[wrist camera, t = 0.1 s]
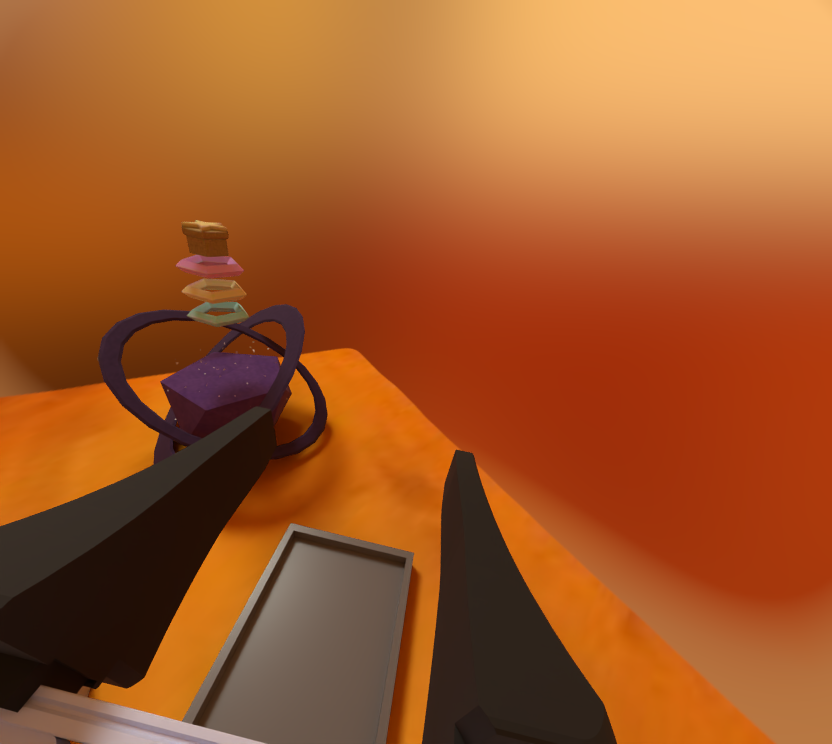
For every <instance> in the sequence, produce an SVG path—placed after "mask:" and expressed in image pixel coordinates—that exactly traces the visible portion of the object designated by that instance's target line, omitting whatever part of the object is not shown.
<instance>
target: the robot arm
mask: <svg viewBox="0 0 832 744" xmlns="http://www.w3.org/2000/svg"><path fill="white" fill-rule="evenodd" d="M276 447H277V443H276V437H275V430H274V424H273V418H272V412H271V409H267V408H262V407H257V406H255V407H254V408H252V409H250V410H249V411H247V412H245V413H244V414H242V415H240V416H239V417H237V418H235V419H234V420H232V421H231V422H229V423H227V424H226V425H224V426H222V427H221V428H219V429H217V430H216V431H214V432H212V433H211V434H209V435H207V436H206V437H204V438H202V439H201V440H199V441H197V442H195V443H194V444H192V445H190V446H188V447H186V448H184V449H183V450H181V451H179V452H177V453H175V454H173V455H172V456H170V457H168V458H166V459H164V460H162V461H160V462H158V463H156V464H154V465H152V466H150V467H148V468H146V469H144V470H142V471H140V472H138V473H136V474H134V475H132V476H129V477H127V478H125V479H123V480H121V481H118V482H116V483H114V484H111V485H109V486H107V487H104V488H102V489H99V490H97V491H95V492H92V493H90V494H87V495H85V496H83V497H80V498H78V499H75V500H73V501H70V502H67V503H65V504H62V505H60V506H57V507H54V508H52V509H49V510H46V511H43V512H40V513H38V514H35V515H32V516H29V517H26V518H24V519H21V520H18V521H15V522H12V523H9V524H6V525H3V526H0V744H70V741H68V740H71V741H74V742H78V743H82V744H266V743H262V742H258V741H254V740H251V739H247V738H243V737H239V736H235V735H231V734H228V733H224V732H220V731H216V730H212V729H208V728H205V727H201V726H197V725H193V724H189V723H185V722H181V721H178V720H174V719H170V718H166V717H162V716H158V715H155V714H151V713H147V712H143V711H139V710H135V709H131V708H128V707H124V706H120V705H116V704H112V703H108V702H105V701H101V700H97V699H93V698H89V697H85V696H82V695H78V694H77V693H78V692H79V690H80V689H81V688H82V686H85V687H89V688H93V689H96V688H98V687H99V686H100V684H101V683H102V682H103V683H107V684H111V685H115V686H119V687H123V688H129V687H131V686H133V685H135V684H136V683H138V682H139V681H140V680H142V679H143V678H144V677H145V675H146V673H147V671H148V669H149V666H150V664H151V662H152V660H153V658H154V656H155V654H156V652H157V650H158V648H159V646H160V643H161V641H162V639H163V637H164V635H165V633H166V631H167V629H168V627H169V625H170V623H171V621H172V619H173V617H174V615H175V613H176V611H177V610H178V608H179V606H180V604H181V602H182V600H183V598H184V596H185V594H186V592H187V590H188V589H189V587H190V585H191V583H192V581H193V579H194V578H195V576H196V574H197V572H198V570H199V569H200V567H201V565H202V563H203V561H204V560H205V558H206V556H207V555H208V553H209V551H210V549H211V548H212V546H213V544H214V543H215V541H216V539H217V537H218V536H219V534H220V533H221V531H222V530H223V528H224V527H225V525H226V523H227V522H228V521H229V519H230V518H231V516H232V515H233V514H234V512H235V511H236V509H237V508H238V507H239V505H240V504H241V502H242V501H243V499H244V498H245V497H246V495H247V494H248V492H249V491H250V490H251V488H252V487H253V485H254V484H255V482H256V481H257V480H258V478H259V477H260V475H261V474H262V472H263V471H264V469H265V468H266V466H267V464H268V462H269V460H270V458H271V457H272V455H273V453H274V451H275V449H276ZM422 744H617V742H616V739H615V736H614V733H613V729H612V726H611V724H610V721H609V718H608V715H607V712H606V709H605V706H604V704H603V702H602V701H601V699H600V698H599V696H598V695H597V694H596V692H595V691H594V689H593V688H592V687H591V685H590V684H589V682H588V681H587V679H586V678H585V677H584V675H583V674H582V672H581V671H580V669H579V668H578V666H577V665H576V663H575V662H574V661H573V659H572V658H571V656H570V655H569V653H568V652H567V650H566V649H565V647H564V645H563V644H562V642H561V641H560V639H559V638H558V636H557V635H556V633H555V632H554V630H553V629H552V627H551V625H550V624H549V622H548V620H547V619H546V617H545V615H544V614H543V612H542V610H541V609H540V607H539V605H538V604H537V602H536V600H535V599H534V597H533V595H532V594H531V592H530V590H529V588H528V586H527V585H526V583H525V581H524V579H523V577H522V575H521V574H520V572H519V570H518V568H517V566H516V564H515V562H514V560H513V558H512V556H511V554H510V552H509V550H508V548H507V546H506V544H505V541H504V539H503V537H502V535H501V532H500V530H499V528H498V526H497V523H496V521H495V518H494V516H493V513H492V511H491V508H490V505H489V503H488V500H487V497H486V495H485V492H484V489H483V486H482V483H481V480H480V477H479V473H478V470H477V466H476V462H475V458H474V455H473V454H472V453H470V452H465V451H460V450H456V451H455V454H454V457H453V460H452V463H451V466H450V469H449V472H448V475H447V478H446V481H445V485H444V493H443V502H442V514H441V574H440V590H439V601H438V611H437V621H436V630H435V639H434V649H433V658H432V666H431V675H430V684H429V692H428V700H427V708H426V716H425V724H424V732H423V740H422Z"/></svg>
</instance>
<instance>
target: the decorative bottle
mask: <svg viewBox="0 0 832 744" xmlns="http://www.w3.org/2000/svg"><path fill="white" fill-rule="evenodd" d="M181 224H182V231H183V233H184V234H185V235H186V236H187V241H188V246H189V251H190V253H193V254H197V255H195V256H192V257H188V258H185V259H182V260H181V261H180V262H179V263H178V264H177V265H176V266H177V267H178V268H179V269H181V270H182V271H184V272H186V273H190V274H194V275H198V276H202V277H205V278H209V279H201V280H199V281H197V282H194V283H192V284H190V285H188V286H186V288H184V289H183V290H182V292H183V293H184V294H186V295H187V296H189V297H192V298H195V299H199V300H202V301H205V303H204V304H202V305H200V306H198V307H196V308H195V309H193V310H192V311H177V310H158V311H151V312H144V313H138V314H135V315H133V316H131V317H129V318H126V319H124V320H122V321H119V322H117V323H116V324H115V325H114V326H113V327H112V328H111V329H110V330H109V331H108V332H107V333H106V334H105V336H104V337H103V338H102V341H101V346H100V350H99V355H98V361H99V365H100V368H101V371H102V375H103V379H104V382H105V383H106V384H107V386H108V387H109V389H110V390H111V391H112V393H113V394H114V395H115V397H116V398H117V399H118V401H119V402H120V403H121V405H122V406H123V407H124V408H126V409H127V410H128V411H129V412H131V413H132V414H133V415H134V416H136V417H137V418H138V419H139V420H140V421H142V422H143V423H144V424H145V425H147V426H148V427H149V428H151V429H153V430H155V431H157V432H159V433H160V434H159V437H158V440H157V444H156V447H155V451H154V464H156V463H158V462H160V461H162V460H164V459H166V458H168V457H170V456H172V455H173V454H175V451H174V449H173V440H174V441H176V442H178V443H179V444H181V445H184V446H187V447H188V446H190V445H192V444H194V443H195V442H197V441H199V440H201V439H202V438H204V437H206V436H207V435H209V434H211V433H212V432H214V431H216V430H217V429H219V428H221V427H222V426H224V425H226V424H227V423H229V422H231V421H232V420H234V419H235V418H237V417H239V416H240V415H242V414H244V413H245V412H247V411H249V410H250V409H252V408H254V407H255V406H257V407H262V408H267V409H271V412H272V418H273V424H274V425H275V424H276V422H277V420H278V418H279V416H280V414H281V412H282V411H283V409H284V407H285V405H286V403H287V401H288V399H289V398H290V396H291V394H292V393H291V390H290V388H289V385H288V384H289V382H290V381H291V379H292V377H293V374H294V372H295V369H297V370H298V372H299V373H300V374H301V376H302V377H303V378H304V379H305V381H306V382H307V384H308V386H309V388H310V390H311V392H312V395H313V397H314V403H315V415H314V419H313V423H312V424H311V426H310V427H309V428H308V430H307V431H306V432H305V433H304V435H302V436H300V437H299V438H297V439H295V440H294V441H292V442H290V443H287V444H283V445H279V446H277V447H276V449H275V451H274V453H273V455H272V457H271V458H270V459H279V458H283V457H286V456H290V455H293V454H297V453H300V452H301V451H303V450H304V449H306V448H307V447H309V446H310V445H312V444H314V443H315V442H316V440H317V439H318V438H319V436H320V435H321V434H322V432H323V431H324V429H325V424H326V420H327V408H326V401H325V398H324V396H323V393H322V391H321V389H320V387H319V385H318V383H317V382H316V380H315V379H314V378H313V376H312V375H311V374H310V373H309V371H308V370H307V369H306V367H305V366H304V365H302V364H301V363H300V362H299V361H298V360H299V358H300V355H301V352H302V346H303V340H304V334H305V330H304V323H303V317H302V315H301V314H300V313H299V311H298V310H297V308H295V307H292V306H289V305H275V306H272V307H269V308H267V309H264V310H261V311H259V312H257V313H256V314H254V315H253V316H251V317H249V316H248V315H247V313H246V312H245V310H244V309H243V307H242V306H241V305H240V304H238V303H237V302H228V301H234V300H240V299H243V298H244V297H245V296H246V295H247V294H246V293H245V292H244V291H243V289H242V288H241V287H240V286H239V285H238V284H237V283H236V282H235V281H233V280H218V279H210V278H220V277H230V276H239V275H240V274H241V273H242V272H243V271H244V270H243V269H242V268H241V267H240V266H239V265H238V264H237V263H236V262H235V261H234V260H233V259H232V258H231V257H225V256H228V248H227V241H226V239H228V231H227V228H226V227H223V226H222V224H221V223H207V222H202V221H198V220H196V221H195V222H182V223H181ZM205 289H208V290H225V291H218V292H208V291H205ZM209 311H224V312H236V313H231V314H226V315H221V316H213V315H209V314H206V313H207V312H209ZM172 320H179V321H199V322H202V323H206V324H209V325H212V326H216V327H220V326H223V327H226V328H229V329H232V331H231V332H229V333H228V334H227V335H226V336H225V337H224V338H223V339H222V340H221V341H220V342H219V343H218V344H217V345H216V346H215V347H214V348H213V349H212V350H211V351H210V352H209V353H208V355H207V356H206V357H204V358H202V359H200V360H198V361H197V362H195V363H193V364H191V365H189V366H188V367H186V368H184V369H182V370H180V371H178V372H177V373H175V374H173V375H171V376H169V377H168V378H166V379H164V380H162V381H160V382H161V384H162V387H163V389H164V391H165V394H166V396H167V398H168V401H169V403H170V405H171V408H170V410H169V412H168V414H167V416H166V419H165V420H163V419H162V418H161V417H160V416H158V415H157V414H156V413H155V412H153V411H152V410H151V409H150V408H149V407H147V406H146V405H145V404H144V403H143V402H141V400H140V399H139V398H138V396H137V395H136V394H135V392H134V391H133V390H132V388H131V387H130V386H129V384H128V383H127V381H126V378H125V375H124V371H123V368H122V365H121V358H122V353H123V347H124V345H125V343H126V342H127V341H128V340H129V338H130V337H131V336H132V335H133V334H134V333H135V332H137V331H139V330H141V329H143V328H145V327H147V326H149V325H151V324H155V323H161V322H167V321H172ZM271 321H275V322H277V323H279V324H281V325H282V326H283V328H284V330H285V331H286V340H287V346H286V350H285V349H283V348H282V347H281V346H279V345H278V344H276V343H275V342H273V341H272V340H271V339H269V338H267V337H265V336H263V335H261V334H259V333H257V332H255V331H253V330H251V329H250V328H252V327H254V326H255V325H258V324H261V323H263V322H271ZM239 322H242V323H240V324H237V323H239ZM242 333H243V334H245V335H247V336H249V337H251V338H253V339H256V340H258V341H260V342H262V343H264V344H265V345H267V346H268V347H270V348H271V349H273V350H274V351H276V352H277V353H279V354H280V355H282V356H283V357H284V359H283V362H282V364H281V365H280V363H279V360H278V358H277V357H273V356H260V355H246V354H233V353H221V352H222V351H223V350H224V349H225V348H226V347H227V346H228V345H229V344H230V343H231V342H232V341H234V340H235V339H236V338H237V337H239V336H240V335H241V334H242ZM268 349H269V348H268ZM177 422H178V424H179V426H180V428H178V427H176V423H177Z"/></svg>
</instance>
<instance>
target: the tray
mask: <svg viewBox="0 0 832 744" xmlns="http://www.w3.org/2000/svg"><path fill="white" fill-rule="evenodd" d="M413 556H414V553H412V552H408V551H404V550H400V549H396V548H392V547H387V546H383V545H379V544H375V543H371V542H367V541H363V540H359V539H354V538H350V537H346V536H342V535H338V534H334V533H330V532H326V531H322V530H317V529H313V528H309V527H305V526H301V525H297V524H293V523H290V525H289V527H288V529H287V531H286V532H285V534H284V536H283V538H282V540H281V542H280V543H279V545H278V547H277V549H276V551H275V553H274V554H273V556H272V558H271V560H270V562H269V564H268V565H267V567H266V569H265V571H264V573H263V574H262V576H261V578H260V580H259V582H258V584H257V585H256V587H255V589H254V591H253V593H252V595H251V596H250V598H249V600H248V602H247V604H246V605H245V607H244V609H243V611H242V613H241V615H240V616H239V618H238V620H237V622H236V624H235V626H234V627H233V629H232V631H231V633H230V635H229V637H228V638H227V640H226V642H225V644H224V646H223V647H222V649H221V651H220V653H219V655H218V657H217V658H216V660H215V662H214V664H213V666H212V668H211V669H210V671H209V673H208V675H207V677H206V678H205V680H204V682H203V684H202V686H201V688H200V689H199V691H198V693H197V695H196V697H195V699H194V700H193V702H192V704H191V706H190V708H189V710H188V711H187V713H186V715H185V717H184V719H183V720H182V722H185V723H189V724H193V725H197V726H201V727H205V728H208V729H212V730H216V731H220V732H224V733H228V734H231V735H235V736H239V737H243V738H247V739H251V740H254V741H258V742H262V743H266V744H386V739H387V732H388V725H389V718H390V711H391V705H392V698H393V691H394V684H395V678H396V671H397V664H398V657H399V650H400V644H401V637H402V630H403V623H404V617H405V610H406V603H407V596H408V589H409V583H410V576H411V569H412V562H413Z"/></svg>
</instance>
